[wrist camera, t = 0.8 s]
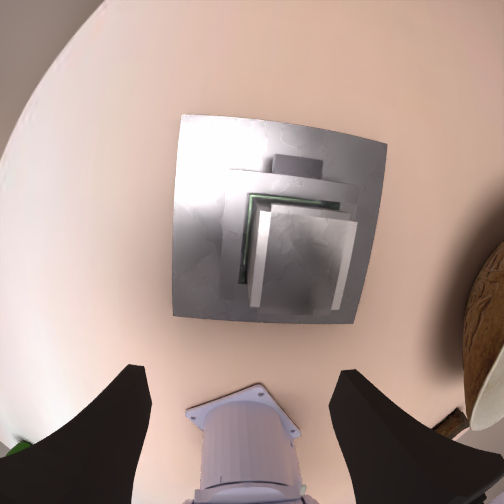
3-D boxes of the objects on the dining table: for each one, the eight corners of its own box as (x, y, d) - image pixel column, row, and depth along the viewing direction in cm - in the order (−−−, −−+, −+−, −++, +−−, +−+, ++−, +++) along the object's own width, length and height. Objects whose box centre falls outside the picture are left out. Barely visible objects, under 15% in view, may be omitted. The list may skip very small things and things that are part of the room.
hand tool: (457, 403, 28) (472, 423, 23) (459, 412, 29) (473, 430, 25) (350, 473, 30) (358, 495, 26) (359, 477, 32) (366, 498, 27)
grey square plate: (348, 317, 21) (368, 346, 17) (175, 308, 20) (164, 340, 16) (380, 144, 17) (412, 142, 13) (184, 117, 16) (170, 104, 12)
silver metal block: (307, 268, 18) (338, 315, 12) (243, 264, 18) (248, 312, 12) (318, 197, 17) (359, 214, 11) (250, 189, 16) (260, 203, 11)
